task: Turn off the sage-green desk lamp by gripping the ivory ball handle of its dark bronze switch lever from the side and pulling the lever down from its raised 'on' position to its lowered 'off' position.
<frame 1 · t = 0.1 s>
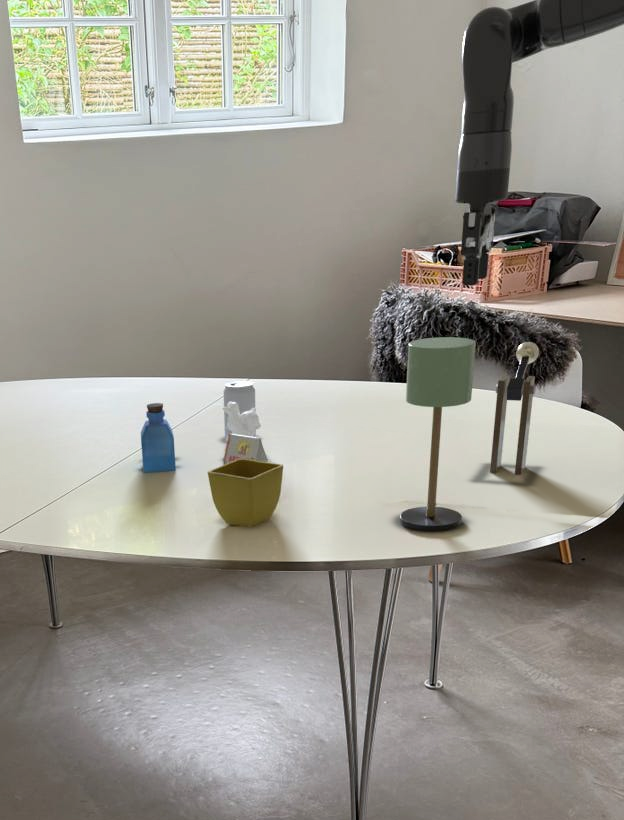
hand: (474, 281, 149), 32 cm above the table, tool pointing down, fingers open, 8 cm apart
desk lamp: (430, 525, 145), on the table
blue corked bottle: (159, 467, 184), on the table
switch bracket: (506, 477, 163), on the table
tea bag: (246, 493, 166), on the table
flower pot: (246, 523, 152), on the table
lamp switch: (521, 370, 159), point 17 cm above the table, hinge at 25.0°
beverage can: (240, 443, 197), on the table
white animal figurine: (240, 464, 183), on the table
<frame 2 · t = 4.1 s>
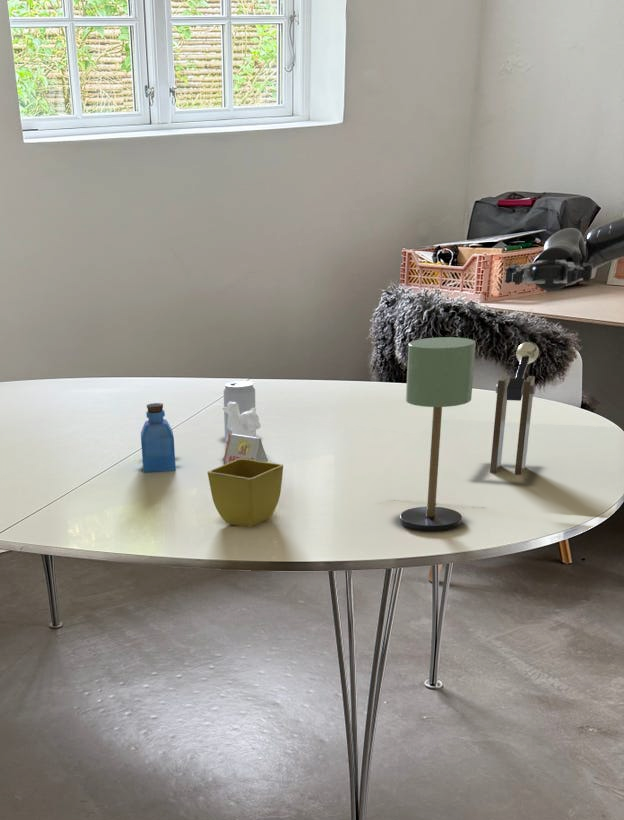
hand: (543, 277, 164), 30 cm above the table, tool horizontal, fingers open, 8 cm apart
nothing on the table moved.
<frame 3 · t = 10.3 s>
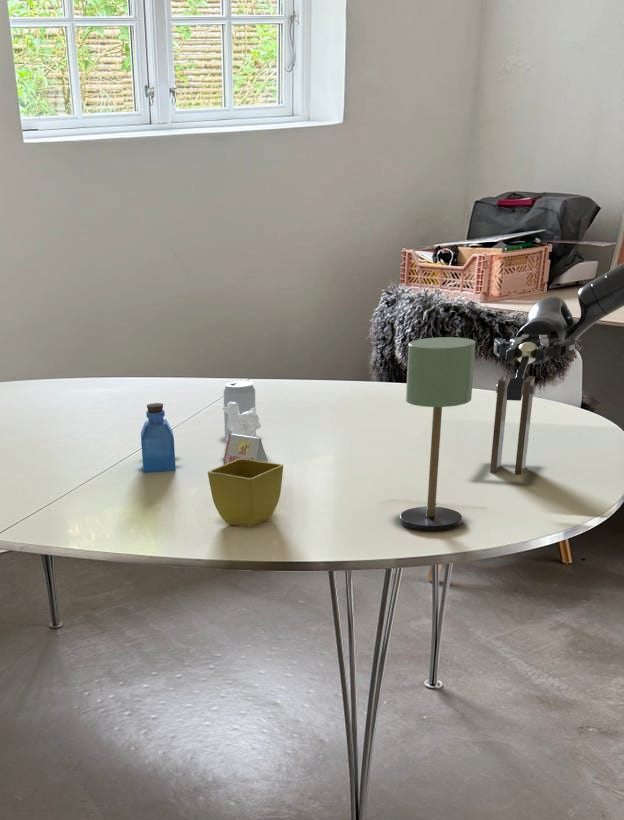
hand: (524, 356, 159), 19 cm above the table, tool horizontal, fingers closed on lamp switch, 3 cm apart
lamp switch: (521, 370, 159), point 17 cm above the table, hinge at 25.0°, touching gripper
everything else where it was.
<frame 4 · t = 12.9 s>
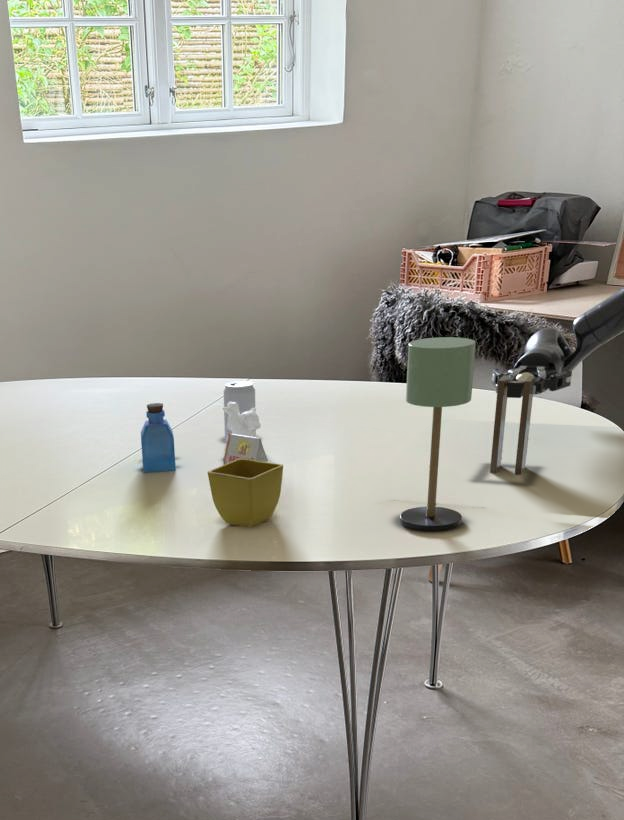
hand: (521, 387, 162), 14 cm above the table, tool horizontal, fingers closed on lamp switch, 3 cm apart
lamp switch: (520, 386, 160), point 14 cm above the table, hinge at -5.9°, touching gripper
everything else where it was.
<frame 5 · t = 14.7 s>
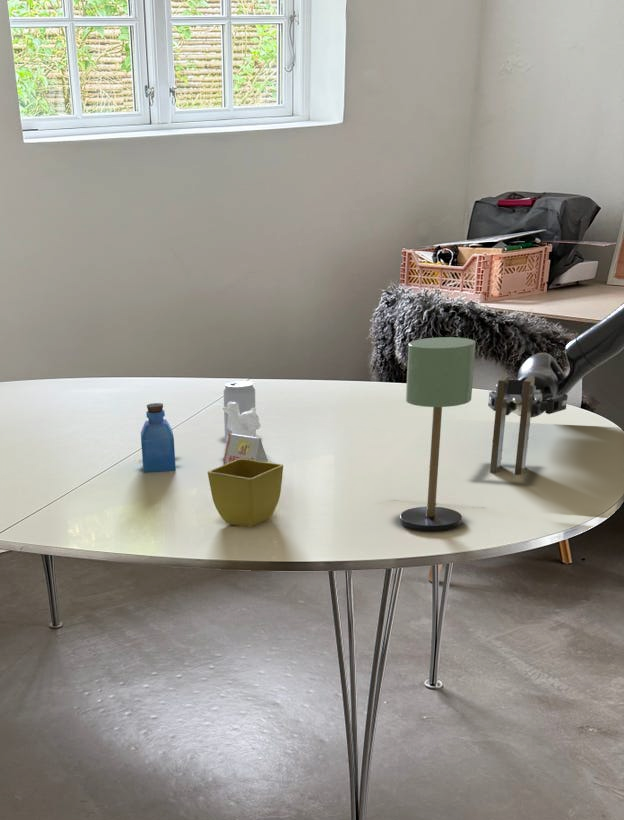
hand: (519, 409, 163), 10 cm above the table, tool horizontal, fingers closed on lamp switch, 3 cm apart
lamp switch: (519, 397, 161), point 13 cm above the table, hinge at -26.8°, touching gripper
everything else where it was.
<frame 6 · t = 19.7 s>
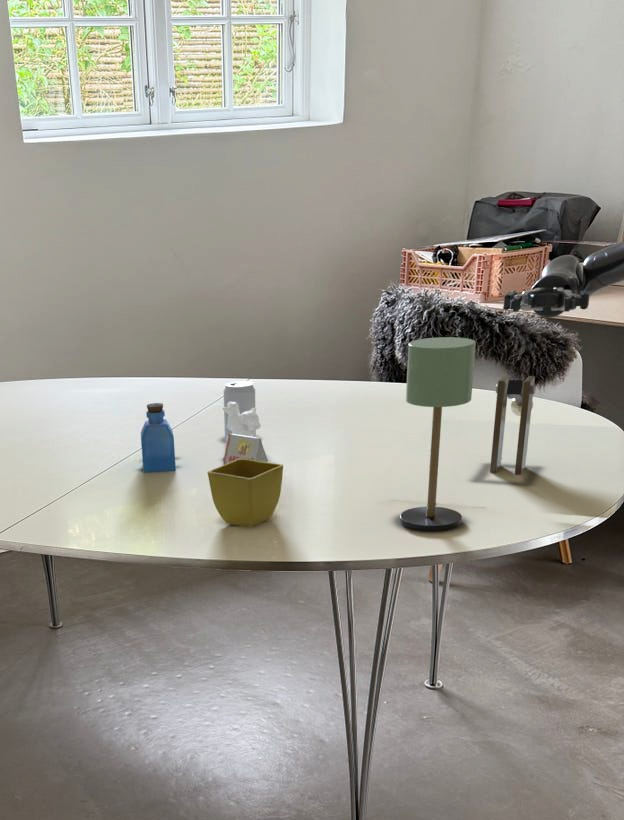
hand: (540, 305, 167), 25 cm above the table, tool horizontal, fingers open, 8 cm apart
lamp switch: (518, 398, 161), point 13 cm above the table, hinge at -27.6°
everything else where it was.
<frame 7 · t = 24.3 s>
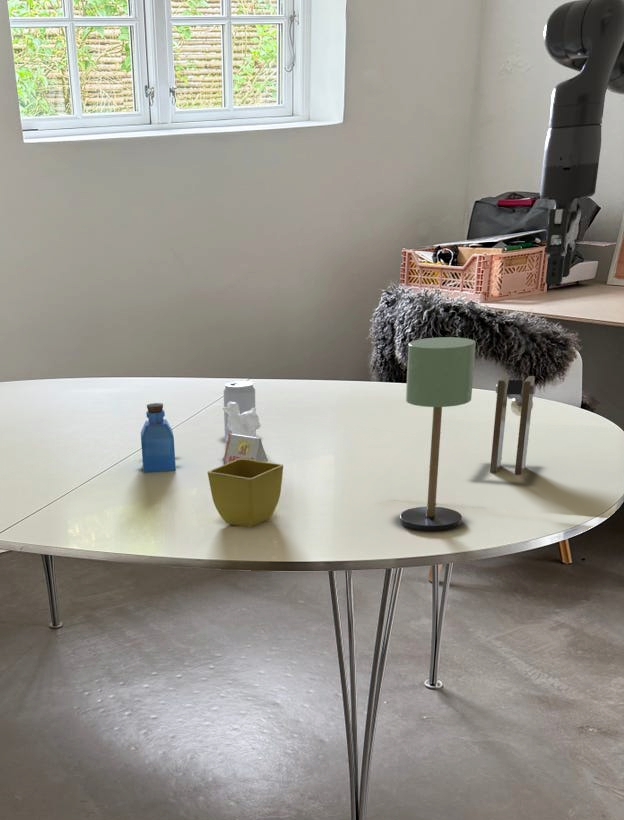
hand: (557, 280, 145), 32 cm above the table, tool pointing down, fingers open, 8 cm apart
nothing on the table moved.
at the end: lamp switch at -28° (first picture: +25°); lamp switch 21.3 cm from the desk lamp (horizontally); the gripper is holding nothing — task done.
